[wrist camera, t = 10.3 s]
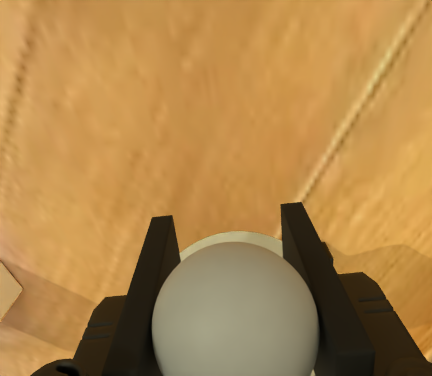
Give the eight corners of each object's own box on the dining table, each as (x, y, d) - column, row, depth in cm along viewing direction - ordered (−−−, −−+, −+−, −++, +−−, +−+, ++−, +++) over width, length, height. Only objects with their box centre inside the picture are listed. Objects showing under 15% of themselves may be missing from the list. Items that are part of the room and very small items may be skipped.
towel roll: (172, 266, 39) (-48, 74, 10) (301, 253, 38) (474, 9, 9) (177, 416, 33) (-267, 963, 4) (327, 404, 33) (931, 946, 4)
